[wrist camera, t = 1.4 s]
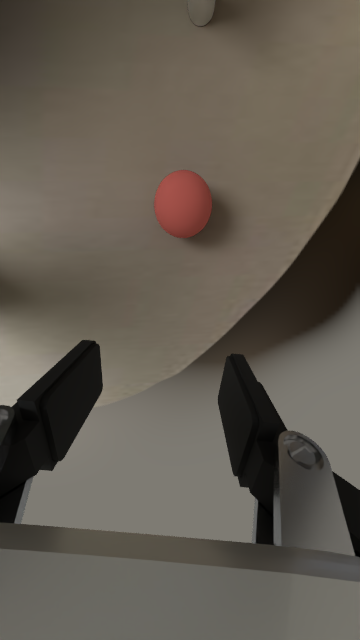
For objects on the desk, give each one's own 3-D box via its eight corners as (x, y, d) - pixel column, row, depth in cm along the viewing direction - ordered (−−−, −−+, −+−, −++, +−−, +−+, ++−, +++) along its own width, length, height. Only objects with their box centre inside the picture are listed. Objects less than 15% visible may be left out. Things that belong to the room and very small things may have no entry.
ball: (167, 245, 24) (162, 244, 18) (151, 192, 22) (139, 173, 16) (213, 230, 23) (222, 224, 17) (201, 173, 21) (207, 147, 15)
